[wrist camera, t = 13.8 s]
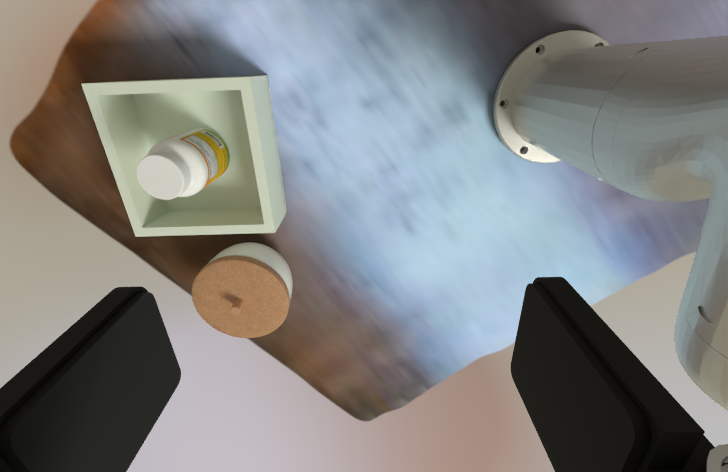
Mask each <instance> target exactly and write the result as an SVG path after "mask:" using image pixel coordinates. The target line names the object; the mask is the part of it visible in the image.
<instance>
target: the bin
mask: <svg viewBox="0 0 728 472" xmlns="http://www.w3.org/2000/svg"><path fill="white" fill-rule="evenodd" d="M81 85H82V88H83V90H84V93H85V96H86V99H87V102H88V104H89V107H90V110H91V113H92V116H93V118H94V121H95V124H96V127H97V130H98V132H99V135H100V138H101V141H102V144H103V146H104V149H105V152H106V155H107V158H108V160H109V163H110V166H111V169H112V172H113V174H114V177H115V180H116V183H117V186H118V188H119V191H120V194H121V197H122V200H123V202H124V205H125V208H126V211H127V214H128V216H129V219H130V222H131V225H132V228H133V230H134V233H135V236H136V237H141V236H177V235H214V234H251V233H275V232H276V230H277V229H278V227H279V225H280V223H281V221H282V220H283V218H284V216H285V214H286V213H287V207H286V200H285V193H284V186H283V179H282V172H281V165H280V158H279V151H278V144H277V137H276V130H275V123H274V116H273V109H272V102H271V95H270V88H269V81H268V75H260V76H235V77H210V78H185V79H160V80H135V81H115V82H100V83H84V84H81ZM196 128H206V129H210V130H212V131H214V132H216V133H217V134H219V135H220V136H221V137H222V138H223V139H224V140H225V142H226V143H227V145H228V147H229V150H230V154H231V160H230V164H229V167H228V169H227V170H226V171H225V172H224V173H223V174H222V175H221V176H219V177H218V178H217V179H215V180H214V181H213V182H211V183H210V184H209V185H207V186H206V187H205V188H203V189H202V190H201V191H199V192H198V193H196V194H194V195H192V196H188V197H176V198H173V199H170V200H163V199H158V198H155V197H153V196H151V195H150V194H148V193H147V192H146V191H145V190H144V189H143V188H142V187H141V185H140V184H139V182H138V179H137V175H136V169H137V165H138V163H139V161H140V160H141V159H142V158H144V157H145V156H147V154H148V152H149V150H150V149H151V148H152V147H153V146H154V145H155V144H156V143H158V142H160V141H162V140H165V139H168V138H170V137H173V136H176V135H179V134H181V133H184V132H187V131H190V130H192V129H196Z"/></svg>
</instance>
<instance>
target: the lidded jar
mask: <svg viewBox="0 0 728 472" xmlns="http://www.w3.org/2000/svg"><path fill="white" fill-rule="evenodd" d="M292 289H293V282H292V274H291V271H290V269H289V266H288V264H287V262H286V261H285V259H284V258H283V257H282V256H281V255H280V254H279V253H278V252H277V251H275V250H274V249H272V248H270V247H268V246H266V245H263V244H259V243H252V242H246V243H239V244H235V245H232V246H230V247H228V248H226V249H224V250H223V251H221V252H220V253H218V254H217V255H216V256H215V257H214V258H212V259H211V260H210V261H209V263H208V264H207V265H205V266H204V267H203V268H202V269H201V270H200V272H199V273H198V274H197V276H196V277H195V279H194V281H193V285H192V299H193V302H194V305H195V308H196V309H197V311H198V313H199V314H200V315H201V317H202V318H203V319H204V320H205V321H206V322H207V323H208V324H209V325H211V326H212V327H213V328H215V329H217V330H218V331H221V332H222V333H225V334H228V335H231V336H235V337H240V338H241V337H242V338H254V337H260V336H263V335H266V334H269V333H271V332H273V331H274V330H276V329H277V328H278V327H279V326H280V325H281V324H282V323H283V321H284V320H285V318H286V316H287V313H288V310H289V305H290V300H291V296H292Z"/></svg>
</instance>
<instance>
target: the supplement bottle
mask: <svg viewBox="0 0 728 472" xmlns="http://www.w3.org/2000/svg"><path fill="white" fill-rule="evenodd" d="M230 160H231V154H230V150H229V147H228V145H227V143H226V142H225V140H224V139H223V138H222V137H221V136H220V135H219V134H217V133H216V132H214V131H212V130H210V129H206V128H196V129H192V130H190V131H187V132H184V133H181V134H179V135H176V136H173V137H170V138H168V139H165V140H162V141H160V142H158V143H156V144H155V145H154V146H153V147H152V148H151V149H150V150H149V152H148V154H147V156H145V157H144V158H142V159H141V160H140V161H139V163H138V165H137V169H136V175H137V179H138V182H139V184H140V185H141V187H142V188H143V189H144V190H145V191H146V192H147V193H148V194H150V195H151V196H153V197H155V198H158V199H163V200H170V199H173V198H176V197H188V196H192V195H194V194H196V193H198V192H199V191H201V190H202V189H203V188H205V187H206V186H207V185H209V184H210V183H211V182H213V181H214V180H215V179H217V178H218V177H219V176H221V175H222V174H223V173H224V172H225V171H226V170H227V169H228V167H229V164H230Z"/></svg>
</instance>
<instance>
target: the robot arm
mask: <svg viewBox="0 0 728 472" xmlns="http://www.w3.org/2000/svg"><path fill="white" fill-rule="evenodd" d="M595 46H596V47H595ZM537 47H538V49H539V50H538V52H537V53H536V51H535V50H536V48H537ZM501 101H503V102H504V103H503V105H502V106H500V102H501ZM493 119H494V123H495V128H496V131H497V133H498V135H499V137H500V139H501V141H502V142H503V143H504V145H505V146H506V147H507V148H508V149H509V150H510V151H512V152H513V153H514V154H516V155H517V156H519V157H521V158H523V159H526V160H528V161H531V162H537V163H554V162H559V161H564V162H566V163H568V164H570V165H572V166H574V167H576V168H578V169H580V170H582V171H584V172H586V173H588V174H590V175H592V176H594V177H596V178H598V179H600V180H602V181H604V182H606V183H608V184H610V185H612V186H614V187H616V188H618V189H621V190H623V191H625V192H627V193H629V194H631V195H634V196H637V197H639V198H642V199H646V200H651V201H657V202H688V201H695V200H700V199H706V198H710V201H709V205H708V210H707V213H706V216H705V220H704V223H703V226H702V230H701V234H702V236H701V239H700V242H699V246H698V249H697V252H696V255H695V259H694V262H693V265H692V268H691V271H690V274H689V278H688V281H687V284H686V287H685V290H684V293H683V297H682V300H681V304H680V308H679V311H678V315H677V319H676V324H675V332H674V341H675V348H676V353H677V355H678V358H679V361H680V363H681V365H682V366H683V368H684V370H685V371H686V373H687V374H688V376H689V377H690V378H691V379H692V380H693V382H694V383H695V384H696V385H697V386H698V387H699V388H700V389H701V390H702V391H703V392H704V393H706V394H707V395H708V396H709V397H710V398H712V399H713V400H714V401H715V402H716V403H718V404H719V405H721V406H722V407H724V408H725V409H726V410H728V36H719V37H707V38H695V39H684V40H671V41H659V42H647V43H635V44H622V45H610V44H609V43H608V42H607V41H606V40H605V39H603V38H602V37H600V36H598V35H597V34H593V33H590V32H587V31H578V30H569V31H562V32H558V33H554V34H550V35H547V36H545V37H543V38H541V39H538V40H536V41H535V42H533V43H532V44H530V45H529V46H528V47H526V48H525V49H524V50H523V51H522V52H521V53H519V54H518V55H517V56H516V57H515V58H514V60H513V61H512V62H511V64H510V65H509V66H508V67H507V69H506V70H505V72H504V74H503V76H502V78H501V80H500V82H499V84H498V87H497V90H496V93H495V98H494V104H493ZM521 147H523V149H522V150H521V151H520V149H521ZM511 374H512V377H513V380H514V382H515V385H516V387H517V389H518V391H519V393H520V396H521V398H522V400H523V402H524V404H525V407H526V409H527V411H528V413H529V415H530V418H531V420H532V422H533V424H534V426H535V428H536V431H537V433H538V435H539V437H540V439H541V442H542V444H543V446H544V448H545V450H546V452H547V455H548V457H549V459H550V461H551V463H552V466H553V468H554V470H555V472H728V444H726V445H719V446H717V447H714V446H713V445H712V444H711V443H710V442H709V441H708V439H707V438H706V437H705V436H704V435H703V434H704V430H703V429H702V428H701V427H700V426H699V425H698V424H697V423H696V422H695V421H694V419H693V418H692V417H691V416H690V415H689V414H688V413H687V412H686V411H685V410H684V409H683V408H682V407H681V405H680V404H679V403H678V402H677V401H676V400H675V399H674V398H673V397H672V395H671V394H670V393H669V392H668V391H667V390H666V389H665V388H664V387H663V386H662V385H661V383H660V382H659V381H658V380H657V379H656V378H655V377H654V376H653V375H652V374H651V373H650V372H649V370H648V369H647V368H646V367H645V366H644V365H643V364H642V363H641V362H640V360H639V359H638V358H637V357H636V356H635V355H634V354H633V353H632V352H631V351H630V350H629V348H628V347H627V346H626V345H625V344H624V343H623V342H622V341H621V340H620V339H619V337H618V336H617V335H616V334H615V333H614V332H613V331H612V330H611V329H610V328H609V327H608V325H607V324H606V323H605V322H604V321H603V320H602V319H601V318H600V317H599V316H598V315H597V314H596V312H595V311H594V310H593V309H592V308H591V307H590V306H589V305H588V304H587V303H586V301H585V300H584V299H583V298H582V297H581V296H580V295H579V294H578V293H577V292H576V290H575V289H574V288H573V287H572V286H571V285H570V284H569V283H568V282H567V281H566V280H565V279H564V278H563V277H538V278H536V279H535V280H534V282H533V284H528V285H527V287H526V291H525V296H524V301H523V306H522V311H521V316H520V321H519V326H518V331H517V336H516V341H515V346H514V351H513V356H512V361H511ZM180 377H181V371H180V367H179V364H178V362H177V359H176V356H175V354H174V351H173V348H172V345H171V342H170V339H169V337H168V334H167V331H166V328H165V326H164V323H163V320H162V317H161V315H160V312H159V309H158V306H157V303H156V301H155V298H154V296H153V294H151V293H149V292H148V291H147V290H146V289H145V288H143V287H118V288H115V289H114V290H112V291H111V292H110V293H109V294H108V295H106V296H105V297H104V298H103V299H102V300H101V301H100V302H99V303H97V304H96V305H95V306H94V307H93V308H92V309H91V310H89V311H88V312H87V313H86V314H85V315H84V316H83V317H81V318H80V319H79V320H78V321H77V322H76V323H75V324H73V325H72V326H71V327H70V328H69V329H68V330H67V331H66V332H64V333H63V334H62V335H61V336H60V337H59V338H57V339H56V340H55V341H54V342H53V343H52V344H51V345H49V346H48V348H46V349H45V350H44V351H43V352H42V353H40V354H39V355H38V356H37V357H36V358H35V359H33V360H32V361H31V362H30V363H29V364H28V365H27V366H25V367H24V368H23V369H22V370H21V371H20V372H19V373H18V374H16V375H15V376H14V377H13V378H12V379H11V380H10V381H8V382H7V383H6V384H5V385H4V386H3V387H2V388H1V389H0V472H126V471H127V469H128V468H129V466H130V464H131V463H132V461H133V460H134V458H135V456H136V454H137V453H138V451H139V449H140V448H141V446H142V444H143V443H144V441H145V439H146V438H147V436H148V434H149V433H150V431H151V429H152V428H153V426H154V424H155V423H156V421H157V419H158V418H159V416H160V414H161V413H162V411H163V409H164V408H165V406H166V404H167V402H168V401H169V399H170V397H171V396H172V394H173V393H174V391H175V389H176V388H177V386H178V384H179V381H180Z"/></svg>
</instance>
